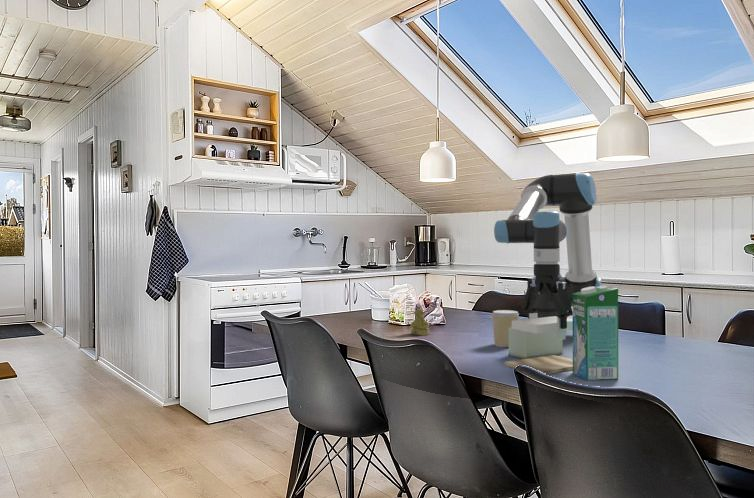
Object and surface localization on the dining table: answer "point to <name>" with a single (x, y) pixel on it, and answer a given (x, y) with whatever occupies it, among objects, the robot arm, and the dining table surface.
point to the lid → (540, 325)
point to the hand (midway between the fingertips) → (546, 336)
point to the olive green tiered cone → (419, 324)
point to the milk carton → (595, 333)
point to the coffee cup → (503, 326)
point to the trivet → (545, 363)
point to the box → (533, 344)
